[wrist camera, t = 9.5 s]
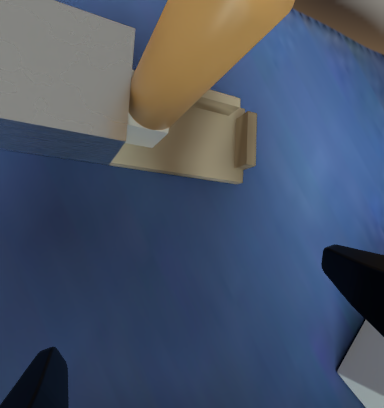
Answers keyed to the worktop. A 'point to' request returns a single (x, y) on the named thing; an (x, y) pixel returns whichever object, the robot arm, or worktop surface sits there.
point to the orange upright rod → (192, 58)
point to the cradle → (201, 143)
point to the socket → (63, 81)
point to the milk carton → (365, 367)
